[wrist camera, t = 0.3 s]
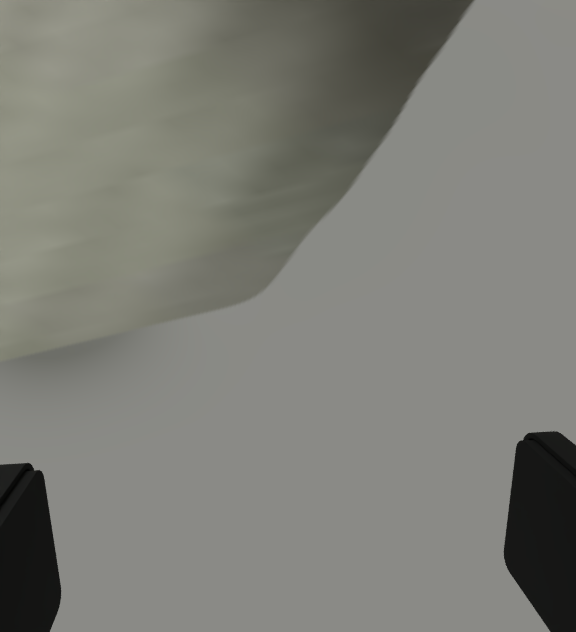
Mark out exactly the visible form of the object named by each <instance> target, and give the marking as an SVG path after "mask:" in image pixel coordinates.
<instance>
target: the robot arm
mask: <svg viewBox="0 0 576 632" xmlns="http://www.w3.org/2000/svg"><path fill="white" fill-rule="evenodd" d="M504 559H505V563H506V566H507V568H508V570H509V572H510V574H511V575H512V576H513V578H514V579H515V581H516V582H517V584H518V585H519V587H520V588H521V589H522V591H523V592H524V594H525V595H526V597H527V598H528V600H529V601H530V602H531V604H532V605H533V607H534V608H535V610H536V611H537V613H538V614H539V616H540V617H541V618H542V620H543V621H544V623H545V624H546V626H547V627H548V629H549V630H550V632H576V445H575V444H573V443H572V442H571V441H570V440H568V439H567V438H566V437H564V436H563V435H562V434H561V433H559V432H554V431H553V432H537V433H528V434H527V435H526V436H525V437H524V440H523V441H519V442H518V444H517V447H516V453H515V462H514V470H513V480H512V488H511V495H510V504H509V512H508V521H507V529H506V537H505V545H504ZM60 599H61V585H60V579H59V572H58V565H57V559H56V552H55V546H54V539H53V533H52V526H51V520H50V513H49V507H48V500H47V494H46V487H45V480H44V476H43V473H42V471H40V470H36V471H34V468H33V467H32V465H31V464H30V463H23V464H6V465H0V632H50V629H51V627H52V624H53V622H54V620H55V617H56V615H57V612H58V609H59V605H60Z"/></svg>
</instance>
